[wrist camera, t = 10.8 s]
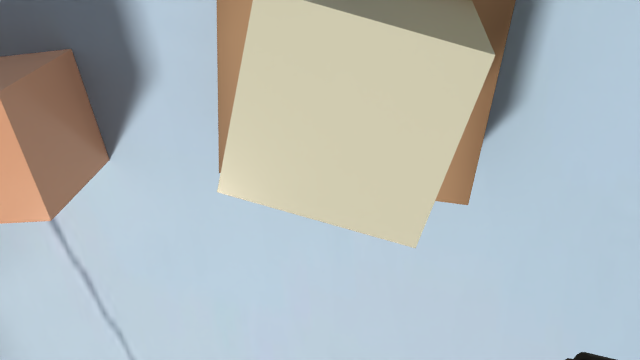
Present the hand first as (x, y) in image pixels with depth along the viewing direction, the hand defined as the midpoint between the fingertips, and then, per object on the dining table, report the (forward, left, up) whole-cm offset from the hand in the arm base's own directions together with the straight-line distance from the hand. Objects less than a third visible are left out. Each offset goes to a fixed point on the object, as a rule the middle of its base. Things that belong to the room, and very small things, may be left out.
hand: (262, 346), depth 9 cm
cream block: (+1, +1, -14) cm, 14 cm away
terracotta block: (-14, -7, -17) cm, 23 cm away
